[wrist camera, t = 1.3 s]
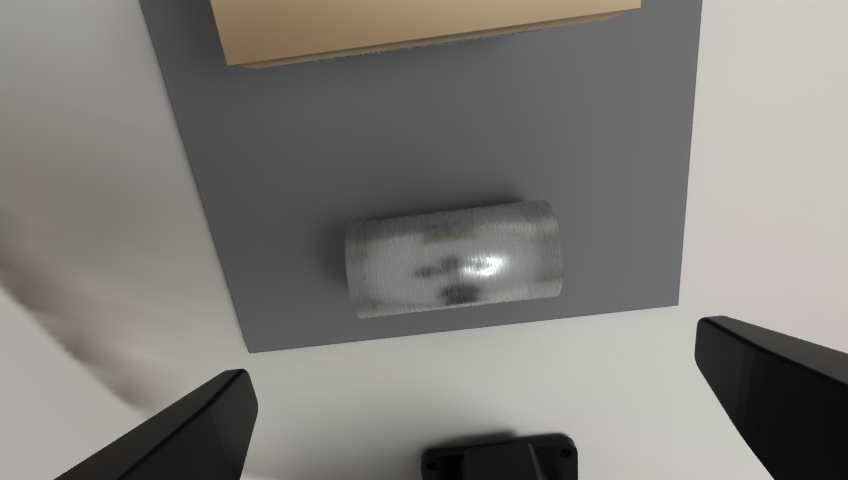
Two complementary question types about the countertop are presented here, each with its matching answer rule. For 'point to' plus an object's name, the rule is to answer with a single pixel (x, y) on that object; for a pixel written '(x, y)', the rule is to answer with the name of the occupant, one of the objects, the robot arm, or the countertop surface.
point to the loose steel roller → (454, 259)
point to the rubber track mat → (438, 161)
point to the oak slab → (382, 24)
